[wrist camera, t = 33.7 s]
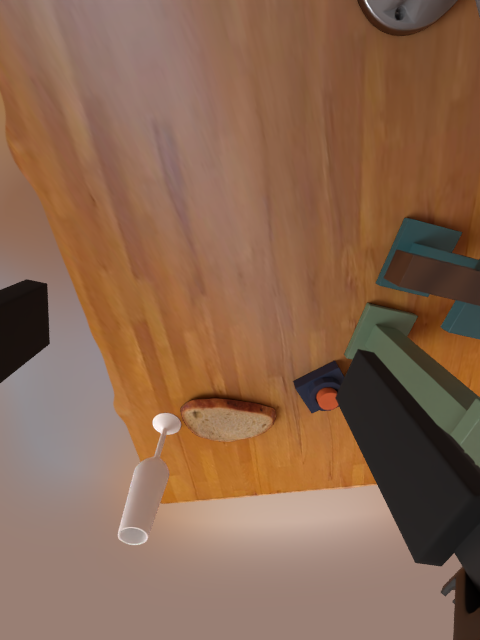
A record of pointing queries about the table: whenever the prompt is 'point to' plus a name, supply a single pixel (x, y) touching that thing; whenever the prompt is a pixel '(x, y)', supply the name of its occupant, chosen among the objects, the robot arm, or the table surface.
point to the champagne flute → (147, 487)
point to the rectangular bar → (434, 277)
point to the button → (327, 398)
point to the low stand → (439, 247)
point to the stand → (420, 374)
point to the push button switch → (318, 384)
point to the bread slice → (227, 418)
